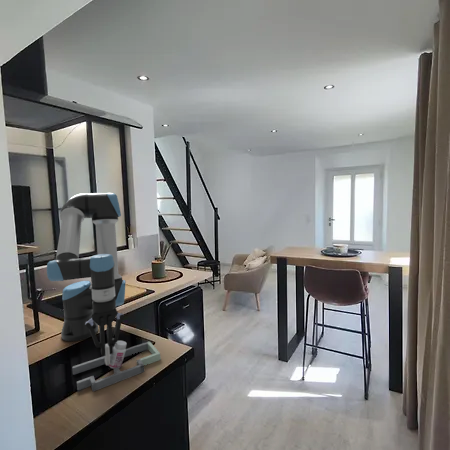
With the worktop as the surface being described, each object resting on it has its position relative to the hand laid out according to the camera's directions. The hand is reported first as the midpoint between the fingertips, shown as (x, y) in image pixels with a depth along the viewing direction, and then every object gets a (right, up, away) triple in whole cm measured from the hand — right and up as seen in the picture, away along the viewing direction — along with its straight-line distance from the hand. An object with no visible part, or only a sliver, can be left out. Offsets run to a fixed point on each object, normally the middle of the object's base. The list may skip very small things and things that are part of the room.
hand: (107, 363), depth 101 cm
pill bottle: (+2, -2, +2) cm, 3 cm away
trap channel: (+4, -3, +1) cm, 5 cm away
